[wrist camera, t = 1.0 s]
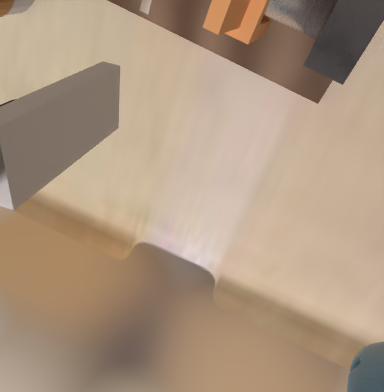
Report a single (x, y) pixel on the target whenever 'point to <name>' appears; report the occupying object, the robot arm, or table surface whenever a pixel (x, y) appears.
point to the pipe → (331, 30)
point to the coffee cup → (14, 6)
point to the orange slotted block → (238, 19)
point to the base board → (240, 44)
